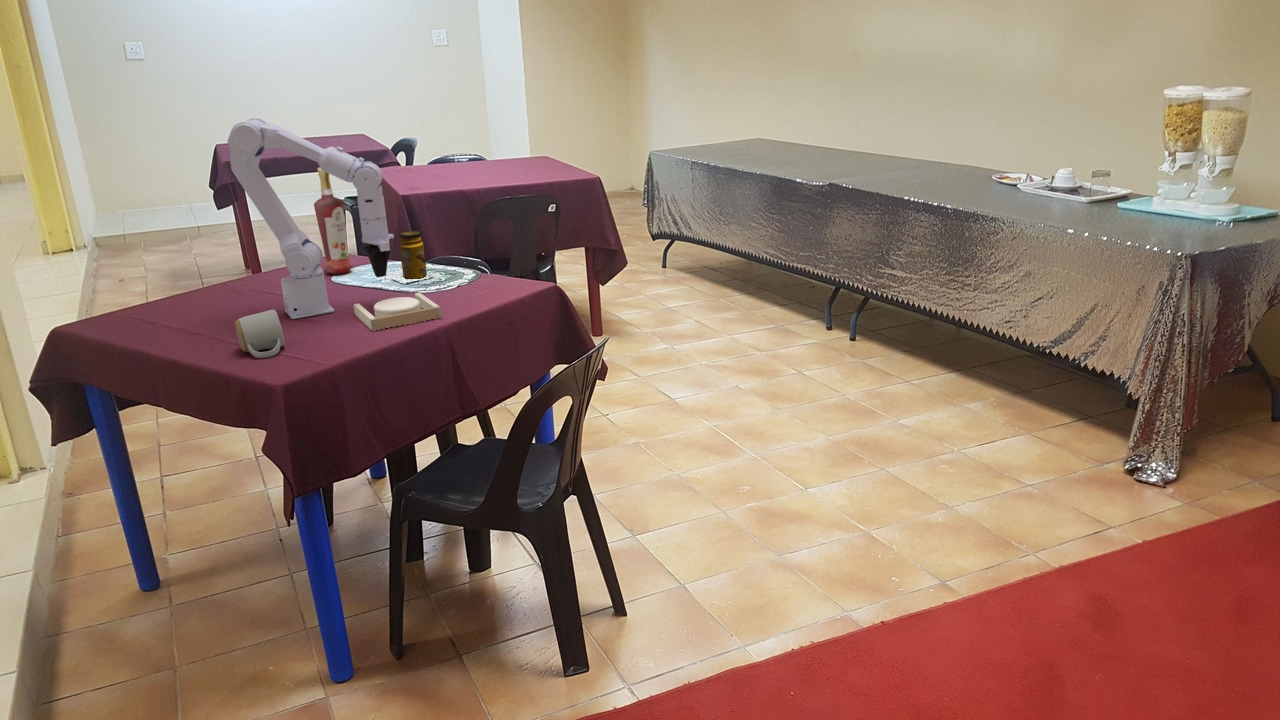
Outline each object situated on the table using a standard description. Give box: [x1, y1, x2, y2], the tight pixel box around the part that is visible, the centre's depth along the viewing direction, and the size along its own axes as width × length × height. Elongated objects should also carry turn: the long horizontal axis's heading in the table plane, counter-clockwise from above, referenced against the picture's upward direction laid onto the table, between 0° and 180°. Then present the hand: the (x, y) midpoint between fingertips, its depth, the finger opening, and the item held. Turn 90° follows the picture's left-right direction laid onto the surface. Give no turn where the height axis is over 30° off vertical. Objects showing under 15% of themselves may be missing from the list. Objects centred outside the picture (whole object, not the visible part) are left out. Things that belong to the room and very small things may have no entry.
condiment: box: [399, 230, 428, 279], centre depth 230 cm, size 7×8×12 cm
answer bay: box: [353, 292, 443, 332], centre depth 201 cm, size 15×15×2 cm
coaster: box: [373, 296, 421, 318], centre depth 201 cm, size 10×10×4 cm
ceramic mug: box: [234, 309, 285, 359], centre depth 181 cm, size 11×8×8 cm
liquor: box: [313, 166, 353, 276], centre depth 236 cm, size 7×7×28 cm
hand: (380, 276), depth 207 cm, fingers closed
